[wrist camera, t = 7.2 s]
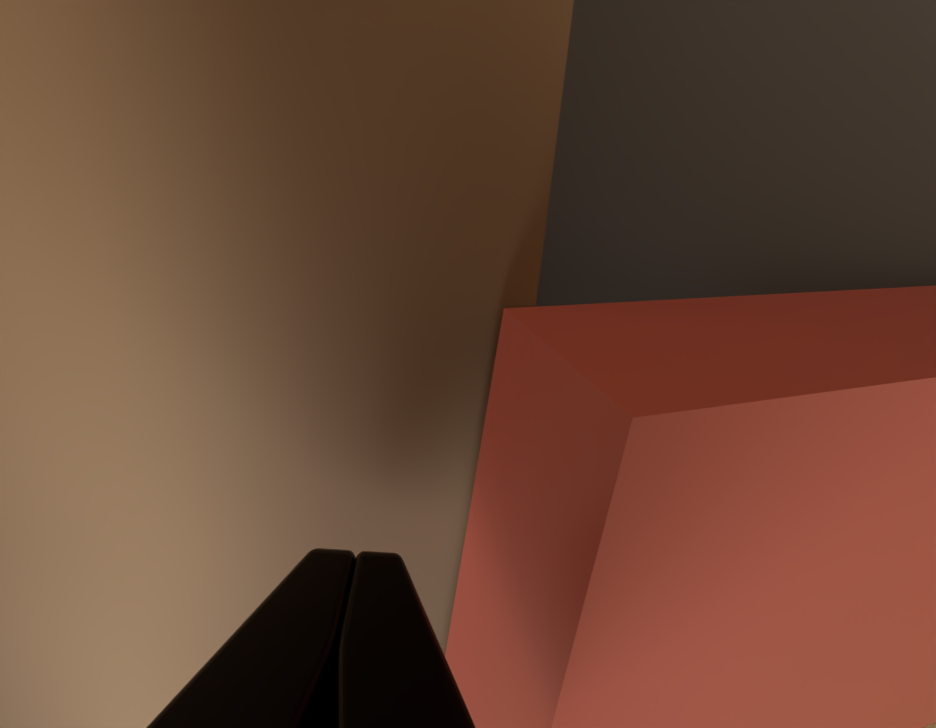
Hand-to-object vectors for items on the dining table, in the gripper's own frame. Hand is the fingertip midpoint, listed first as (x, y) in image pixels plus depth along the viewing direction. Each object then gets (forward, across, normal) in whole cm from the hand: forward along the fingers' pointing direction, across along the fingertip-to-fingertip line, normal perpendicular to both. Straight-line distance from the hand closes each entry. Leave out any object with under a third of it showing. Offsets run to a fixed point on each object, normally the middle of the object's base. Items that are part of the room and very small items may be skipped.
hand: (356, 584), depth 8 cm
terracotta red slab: (+3, -5, +1) cm, 6 cm away
